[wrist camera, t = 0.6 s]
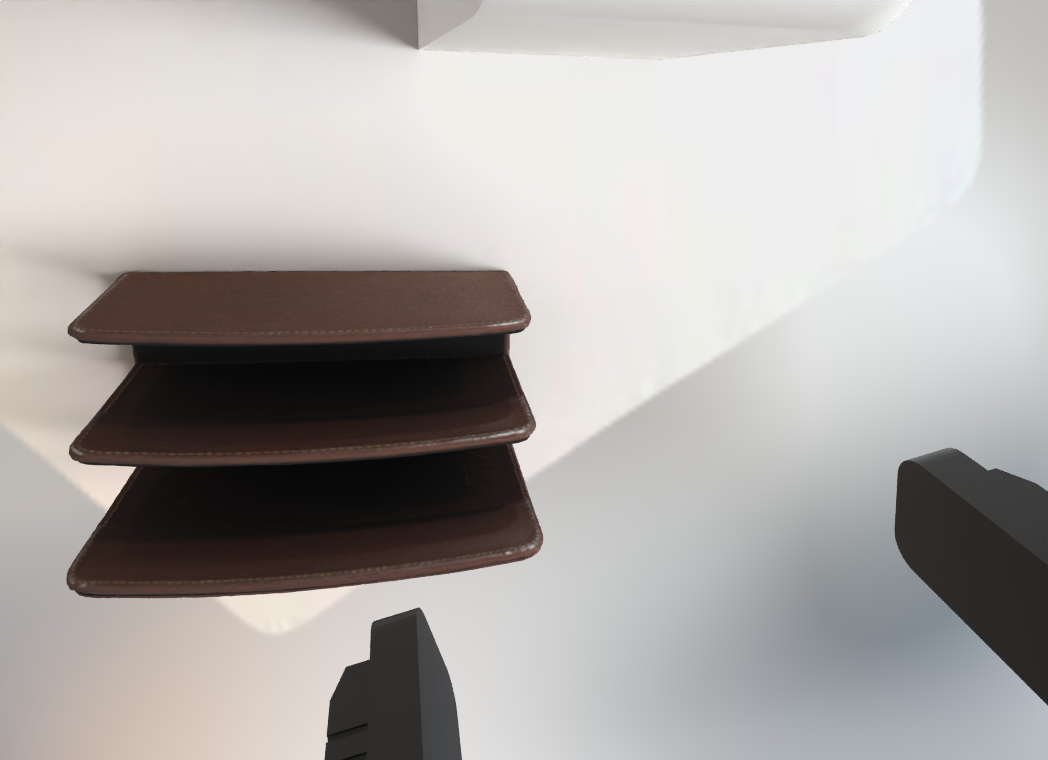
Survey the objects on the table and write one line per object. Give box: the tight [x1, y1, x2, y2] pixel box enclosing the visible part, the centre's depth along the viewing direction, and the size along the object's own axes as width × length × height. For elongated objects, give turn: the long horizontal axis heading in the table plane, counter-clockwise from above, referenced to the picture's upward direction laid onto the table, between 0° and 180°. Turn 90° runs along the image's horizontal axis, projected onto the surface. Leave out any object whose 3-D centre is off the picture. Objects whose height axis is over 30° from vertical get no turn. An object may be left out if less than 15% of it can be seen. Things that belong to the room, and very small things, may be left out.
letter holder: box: [67, 271, 543, 598], centre depth 31 cm, size 10×20×14 cm, turn 87°
